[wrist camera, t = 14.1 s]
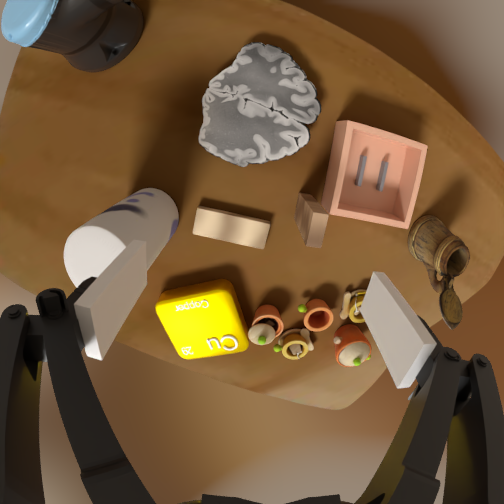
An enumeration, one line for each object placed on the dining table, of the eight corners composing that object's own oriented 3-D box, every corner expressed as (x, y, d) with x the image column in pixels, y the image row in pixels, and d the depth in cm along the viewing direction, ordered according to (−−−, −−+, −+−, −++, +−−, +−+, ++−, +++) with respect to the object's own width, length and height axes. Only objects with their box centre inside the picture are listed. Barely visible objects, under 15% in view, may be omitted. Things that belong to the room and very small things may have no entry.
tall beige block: (299, 192, 46) (313, 212, 35) (310, 194, 46) (328, 214, 35) (294, 218, 47) (306, 246, 36) (305, 220, 47) (320, 248, 36)
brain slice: (286, 183, 45) (288, 186, 43) (187, 144, 43) (183, 145, 40) (334, 77, 38) (339, 74, 35) (234, 37, 36) (233, 31, 33)
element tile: (230, 275, 52) (228, 289, 48) (251, 336, 58) (251, 352, 54) (157, 291, 54) (150, 304, 49) (185, 347, 60) (181, 362, 55)
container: (160, 177, 45) (103, 209, 26) (189, 228, 48) (152, 288, 30) (116, 205, 46) (50, 249, 28) (144, 251, 50) (95, 315, 32)
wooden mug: (390, 272, 51) (434, 327, 35) (418, 208, 46) (478, 246, 30) (422, 281, 52) (466, 333, 36) (449, 223, 47) (506, 261, 30)
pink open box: (336, 121, 41) (347, 120, 35) (409, 143, 41) (427, 145, 36) (320, 203, 46) (329, 213, 41) (392, 218, 47) (407, 229, 41)
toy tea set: (378, 283, 53) (397, 310, 44) (368, 342, 59) (382, 371, 50) (245, 297, 54) (243, 329, 45) (253, 355, 60) (253, 389, 51)
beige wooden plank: (269, 220, 48) (270, 224, 46) (263, 244, 50) (263, 249, 48) (199, 204, 47) (197, 208, 45) (195, 229, 49) (192, 233, 47)
